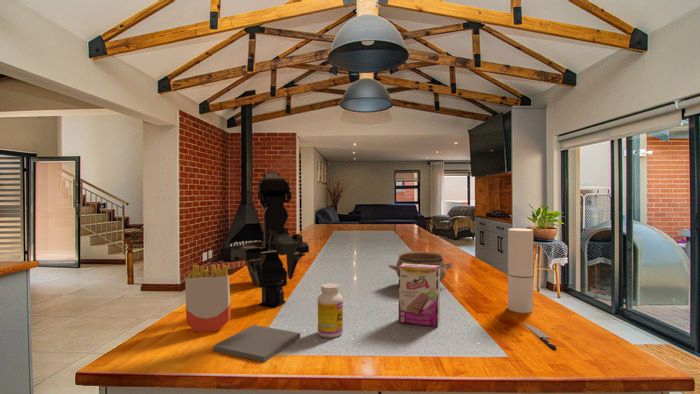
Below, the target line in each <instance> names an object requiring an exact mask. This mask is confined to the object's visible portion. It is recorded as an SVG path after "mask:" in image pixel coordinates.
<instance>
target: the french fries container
mask: <svg viewBox="0 0 700 394" xmlns="http://www.w3.org/2000/svg"><path fill="white" fill-rule="evenodd" d="M210 267H211V268H210V274H209V269H205V264H201V266H200V265H199V264H193V265H192V272H191V271H190V272H189V273H188V274H187V276H186V277H185V285H184V286H185V318H186V319H185V323H186V325H187V326H188V327H190V328H191V329H192V330H193V331H195V332H196V333H206V332H207V333H208V332H210V333H211V332H220V330H221V329H222V328H223V327H224V326H225V325H227V323H228V322H229V321H230V318H231V316H232V315H231V293H230V292H231V291H230V288H231V287H230V275H229V274H228V265H223V266H222V269H221V267H217V268H216V264H211V265H210Z"/></svg>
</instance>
